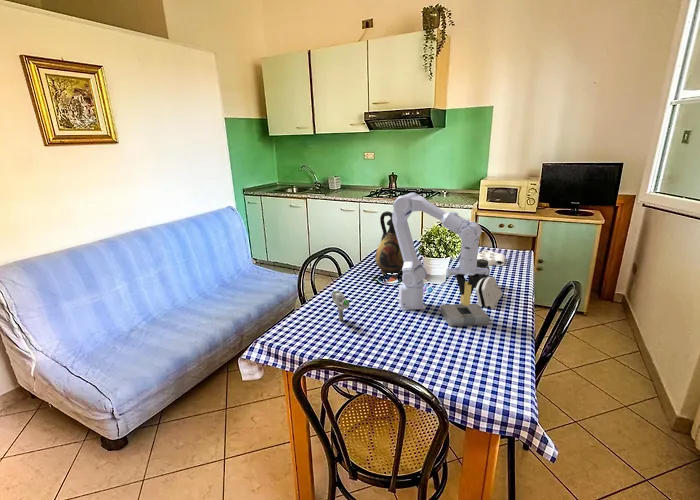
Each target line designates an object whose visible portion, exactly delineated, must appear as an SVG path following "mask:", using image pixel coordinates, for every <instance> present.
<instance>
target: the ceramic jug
mask: <svg viewBox="0 0 700 500" xmlns="http://www.w3.org/2000/svg"><path fill="white" fill-rule="evenodd" d="M392 214H393V212H392V211H388V210H387V211H384V212H382V213H381V214H380V216H379V217H380V219H379V222H380V226H381V230H382V236H381V239H380V242H379V244H378V246H377V248H376V250H375V257H374V258H375V264H376V266H377V267H378V268H379V269H380V273H382V274H383V275H384V274H387V273H391V274H393V273H398V274H399V275H400V274H401V271H402V268H403V264H404V261H403V257H402V254H401V250H400V246H399V243H398V239H397V236H396V232H395V228H394V225H393V221H392ZM385 217H389V219H388V220H387V222H386V223H385ZM386 225H387V226H388V230H387V227H386Z"/></svg>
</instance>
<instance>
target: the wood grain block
mask: <svg viewBox="0 0 700 500" xmlns="http://www.w3.org/2000/svg"><path fill="white" fill-rule="evenodd" d="M471 287H472V285H471V284H470V282H469V280H467V281H465V285H464V294H463V295H461V294H460V298H459V299H460V300H459V301H460V304H462V305H463V306H466V305H470V304H471V296H472V294H471Z"/></svg>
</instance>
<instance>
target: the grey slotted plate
mask: <svg viewBox="0 0 700 500" xmlns="http://www.w3.org/2000/svg"><path fill="white" fill-rule="evenodd" d="M440 314H441V315H442V317H443V318H444V320H445V322H446V324H448V327H466V326H489V321H490V316H489V315H488V314H487V312H486V311H484V309H483V308H482V307H480V306H479V303H478V302H477V303H470V305H466V306H463V305H462V303H454V304H450V303H449V304H448V303H447V304H440Z"/></svg>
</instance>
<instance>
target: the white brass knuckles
mask: <svg viewBox="0 0 700 500" xmlns="http://www.w3.org/2000/svg"><path fill="white" fill-rule="evenodd" d="M478 259H485V260H487V261H488V267H490V266H501V267H502V266H503V265H505V261H506V256H505V254H503V253H500V252H499V253H498V252H494V251H493V250H486V249H485V250H482V251H480V252H478V256H477V260H478ZM499 262H500V263H499Z"/></svg>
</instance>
